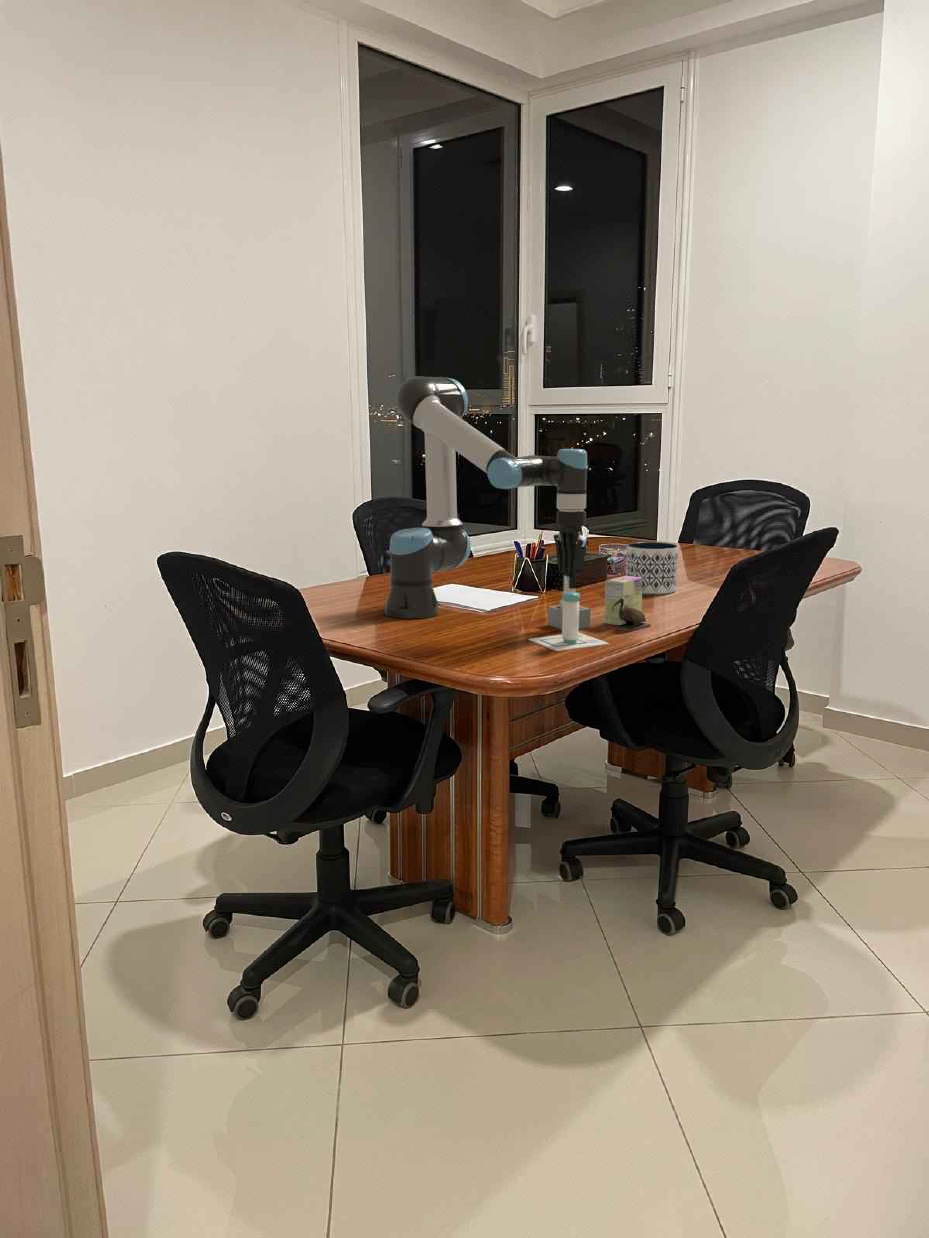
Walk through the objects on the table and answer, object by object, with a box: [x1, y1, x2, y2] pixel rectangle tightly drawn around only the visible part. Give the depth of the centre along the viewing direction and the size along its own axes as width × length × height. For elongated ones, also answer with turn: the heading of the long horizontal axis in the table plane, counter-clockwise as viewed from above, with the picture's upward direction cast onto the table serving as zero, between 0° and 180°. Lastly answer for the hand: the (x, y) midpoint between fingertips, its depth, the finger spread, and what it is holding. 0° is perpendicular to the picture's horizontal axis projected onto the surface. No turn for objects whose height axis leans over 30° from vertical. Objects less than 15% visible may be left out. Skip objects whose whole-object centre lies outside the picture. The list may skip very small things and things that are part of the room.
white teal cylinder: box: [561, 592, 581, 644], centre depth 231 cm, size 4×4×12 cm
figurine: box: [612, 599, 651, 633], centre depth 248 cm, size 14×4×9 cm, turn 134°
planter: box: [625, 541, 679, 595], centre depth 301 cm, size 16×16×14 cm
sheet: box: [528, 632, 610, 652], centre depth 234 cm, size 15×13×1 cm
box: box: [603, 575, 643, 626], centre depth 256 cm, size 10×6×12 cm, turn 141°
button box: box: [547, 604, 592, 631], centre depth 251 cm, size 8×8×5 cm
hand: (569, 600), depth 250 cm, fingers closed
